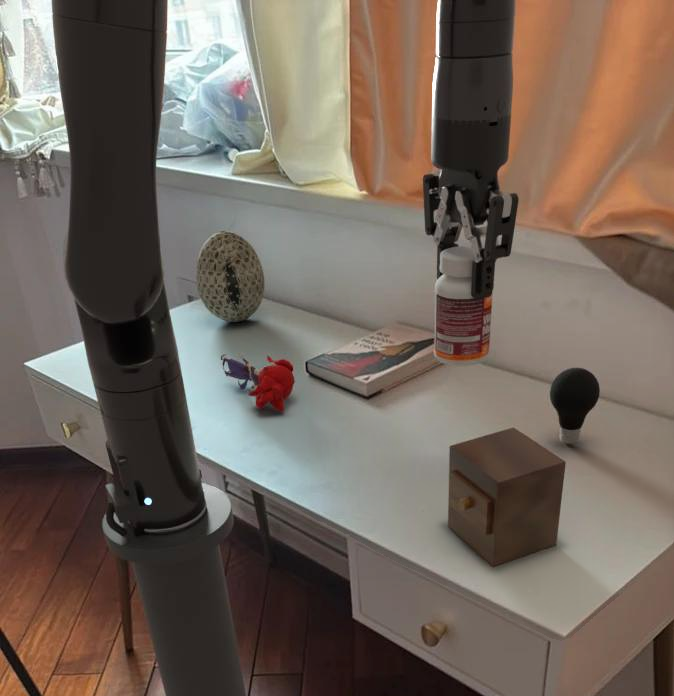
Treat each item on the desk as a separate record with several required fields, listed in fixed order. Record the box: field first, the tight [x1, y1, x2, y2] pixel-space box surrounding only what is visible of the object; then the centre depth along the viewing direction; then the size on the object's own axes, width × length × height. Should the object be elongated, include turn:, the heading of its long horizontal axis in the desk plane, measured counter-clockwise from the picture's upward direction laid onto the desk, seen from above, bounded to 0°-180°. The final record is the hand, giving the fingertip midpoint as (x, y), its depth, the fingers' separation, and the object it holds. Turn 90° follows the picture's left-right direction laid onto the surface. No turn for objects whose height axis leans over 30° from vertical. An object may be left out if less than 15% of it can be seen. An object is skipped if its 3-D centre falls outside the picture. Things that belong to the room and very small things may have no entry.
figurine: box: [220, 354, 296, 413], centre depth 123 cm, size 6×8×15 cm
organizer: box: [447, 427, 567, 567], centre depth 89 cm, size 9×9×10 cm
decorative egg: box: [195, 230, 266, 323], centre depth 148 cm, size 12×12×15 cm
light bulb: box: [549, 367, 601, 446], centre depth 105 cm, size 6×6×10 cm
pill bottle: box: [433, 245, 493, 367], centre depth 92 cm, size 6×6×11 cm
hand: (463, 288), depth 91 cm, fingers closed on pill bottle, 6 cm apart
